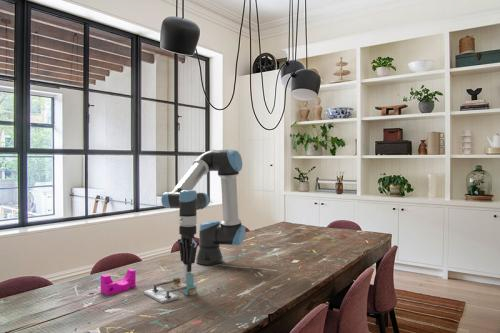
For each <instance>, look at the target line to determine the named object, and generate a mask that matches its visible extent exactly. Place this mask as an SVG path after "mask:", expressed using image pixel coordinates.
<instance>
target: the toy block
mask: <svg viewBox="0 0 500 333" xmlns="http://www.w3.org/2000/svg"><path fill="white" fill-rule="evenodd" d="M136 271H137V270H136V269H133V268H130V269H127V271H126V273H125V276H123V278H122V279H120V280H119V281H113V280H112V277H111V275H109V274H107V273H106V274H102V275H100V293H103V294H104V295H106V296H109V295H110V296H111V295H114V294H117V293H121V292H125V291H129V290H130V288H132V287H136V281H137V280H136V279H137V278H136V276H137V275H136V273H137V272H136Z"/></svg>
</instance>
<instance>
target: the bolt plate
mask: <svg viewBox="0 0 500 333" xmlns="http://www.w3.org/2000/svg"><path fill="white" fill-rule="evenodd" d="M167 290H168V289H165V288H163V287H162V286H159V287H158V286H157V290H154V288H151V289H147V290H143V294H144V295H145V296H147V297H149V298H150V299H153V300H155V301H157V302H159V303H160V304H165V303H169V302H172V301H176V300H178V299H180V296H179V295H178V294H175V293H173V292H170V293H169V297H167V293H166V291H167Z"/></svg>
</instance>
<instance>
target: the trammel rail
mask: <svg viewBox="0 0 500 333" xmlns="http://www.w3.org/2000/svg"><path fill="white" fill-rule="evenodd" d="M168 284H170V288H172V289H175V288H179V287H183V286H184V285H186V283H183V282H181V277H174V278H173V279H171V280H167V281H162V282H160V283H155V284H153V289H154V290H157V288H158V286H159V287H161V286H163V285H168ZM178 291H179V292H181V293H183V289H181V290H178ZM196 294H197V293H196V289H195V288H192V289H188V295H187V296H194V295H196Z"/></svg>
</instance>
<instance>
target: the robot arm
mask: <svg viewBox="0 0 500 333" xmlns="http://www.w3.org/2000/svg"><path fill="white" fill-rule="evenodd" d="M242 169H243V159H242V156H241V154H240V152H239V151H238V150H234V149H212V150H208V151H206V152H204V153H202V154H201V155H199V156H198V157H197V158H196V159H195V160H194V161H193V162H192V166H191V168H190V169H189V170H188V171H187V172H186V174H185V175H184V176H183V177H182V178H181V179H180V181H179V182H178V183H177V184H176V185H175V187H174V188H173V189H172V190H171V191H168V192H167V191H166V192H163V194H162V196H161V199H160V200H161V204H162V207H164V208H166V209H167V208H168V209H179V214H178V215H179V222H178V223H179V227H178V231H179V235H180V238H178V239H177V243H178V247H179V254H180V257H179V258H180V262H182V263H183V275H184V276H183V278H184V280H186V274H189V273H192V265H193V264H195V262H196V263H197V264H198V265H206V266H209V265H218V264H221V263H222V262H223V254H222V251H221V248H220V245H224V246H232V247H234V246H236V247H238V246H240V245H242V244H243V242H244V240H245V235H246V227H245V225H244V224H242V220H241V219H240V218H239V204H238V202H239V200H238V183H237V181H238V180H237V176H239V174H240V172H241V171H242ZM209 172H217V176H218V177H219V178H220V184H221V185H220V186H221V188H220V189H221V202H222V220H221V221H220V220H209V221H205V222H201V223H200V225H199V229H198V232H199V233H198V234H199V235H198V236H199V242H197V241H195V240H196V239H195V235H196V234H197V224H198V222H197V220H198V219H197V211H198V210H203V209H205V208H207V207H208V206H209V205H210V197H209V195H208V194H206V193H205V192H197V191H196V190H194V189H195V187H196V185H197V184H198V183H199V182H200V181H201V179H202V178H203V176H205V175H207V174H208V173H209ZM198 246H199V249H198ZM197 250H198V251H197Z"/></svg>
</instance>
